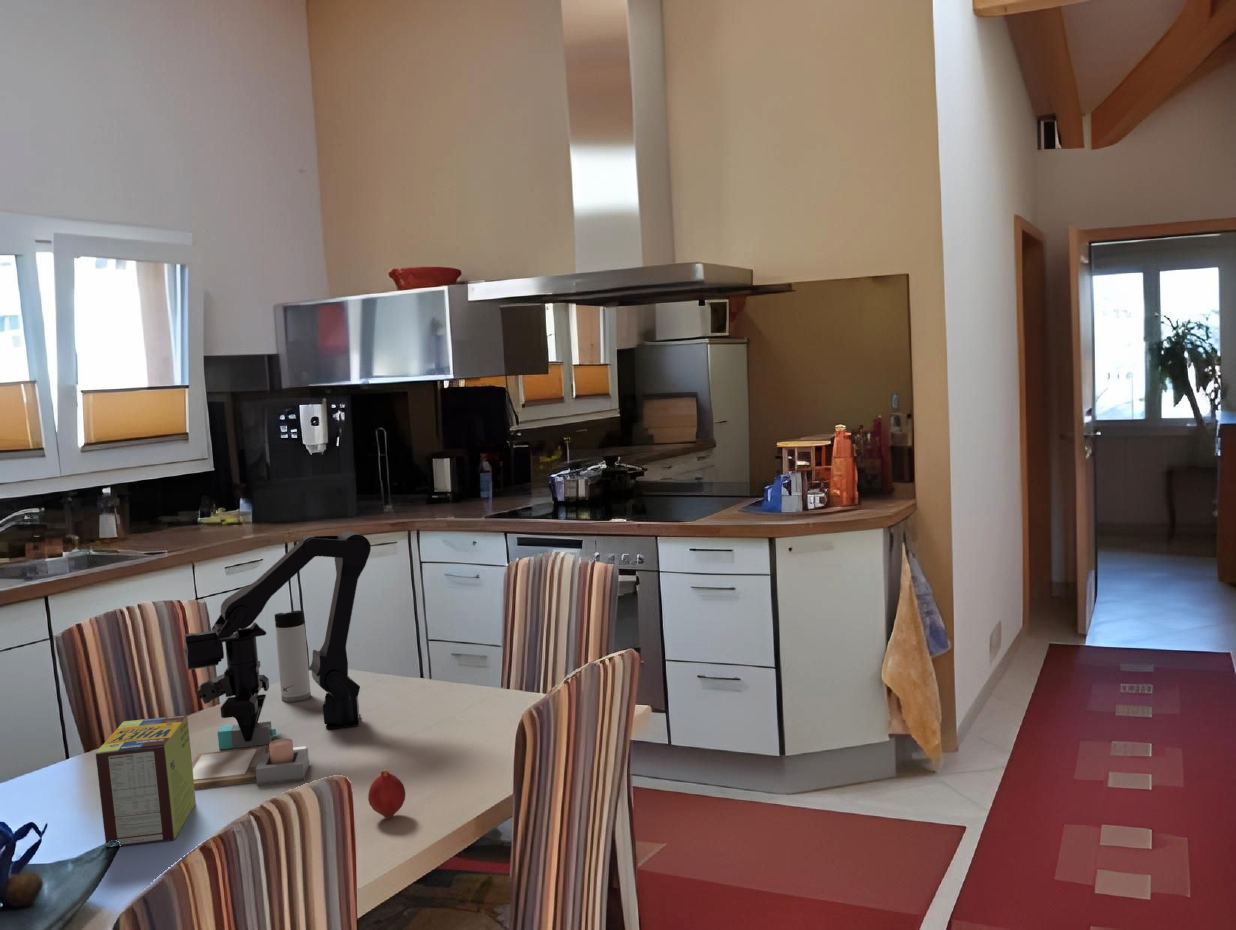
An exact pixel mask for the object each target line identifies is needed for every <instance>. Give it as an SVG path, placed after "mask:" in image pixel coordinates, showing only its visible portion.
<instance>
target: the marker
mask: <svg viewBox="0 0 1236 930" xmlns="http://www.w3.org/2000/svg"><path fill="white" fill-rule="evenodd" d="M273 736H277V729H276V728H272V721H263V722H258V723H256V725H255V728H254V732H253V735H252V739H251V741H248V742H246V741H245V740H244V737H243V735H242V732H241V730H240V727H239V725H238V724H231V725H221V726H220V727H219V729H218V731H217V741H218V749H219V750H226V749H228V750H229V749H235V748H243V747H253V746H254V747H255V746H261V745H262V746H263V745H269V743H270V742H272V740H273Z"/></svg>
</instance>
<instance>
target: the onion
mask: <svg viewBox="0 0 1236 930" xmlns="http://www.w3.org/2000/svg"><path fill="white" fill-rule="evenodd" d="M367 799H368V800H367V801H368V804H369V806H370V807H371V809H372V810H373V811H375V813H378V814H379V815H381V816H383V817H384V818H385V819H391V818H392V817H393V816H394V815H395V814H396V813H398V812H399V811H400V809H401V808H402V807H403V804H404V802H405V800H406V789H405V786H404V784H403V782H402V781H401V779H399V778H398V777H397V776H396V775H394V774H392V773H390V772H389V770H388V769H382V770H381V771H380V775H378V776H377V777H376V778H375V779H374V780H373V781H372V782H371V784H370V786H369V791H368V794H367Z"/></svg>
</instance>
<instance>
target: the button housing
mask: <svg viewBox="0 0 1236 930" xmlns="http://www.w3.org/2000/svg"><path fill="white" fill-rule="evenodd" d="M308 749H309V748H306V749H298V750H293V753H294V762H290V763H281V764H272V765H271V759H270V752H269V753H263V754H262V756H261V758H260V760H259V763H258V765H257V767H256V780H257V781H256V785H257V786H259V787H260V786H267V785H269V786H270V785H276V784H284V783H285V784H286V783H292V782H293V783H294V782H302V781H305V779H306V775H307V773H308V769H309V766H310V758H309V757H310V756H309V750H308Z"/></svg>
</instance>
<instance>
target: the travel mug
mask: <svg viewBox="0 0 1236 930" xmlns="http://www.w3.org/2000/svg"><path fill="white" fill-rule="evenodd" d="M304 615H305V613H304V610H301V609H300V610H292V611H289V612H279V613H275V614H274V624H275V626H274V627H275V638H276V639H275V640H276V649H277V651H276V652H277V660H278V662H277V663H278V674H279V685H280V692H281V693H280V695H281V696H280V697H281V700H282V701H283V702H286V703H295V702H300V701H305V700H307V699H309V698H310V697H311V695H312V694H311V693H312V692H311V684H310V683H311V681H310V672H309V671H310V669H309V658H308V649H307V648H308V647H307V635H306V626H305V625H306V623H305V617H304Z"/></svg>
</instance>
